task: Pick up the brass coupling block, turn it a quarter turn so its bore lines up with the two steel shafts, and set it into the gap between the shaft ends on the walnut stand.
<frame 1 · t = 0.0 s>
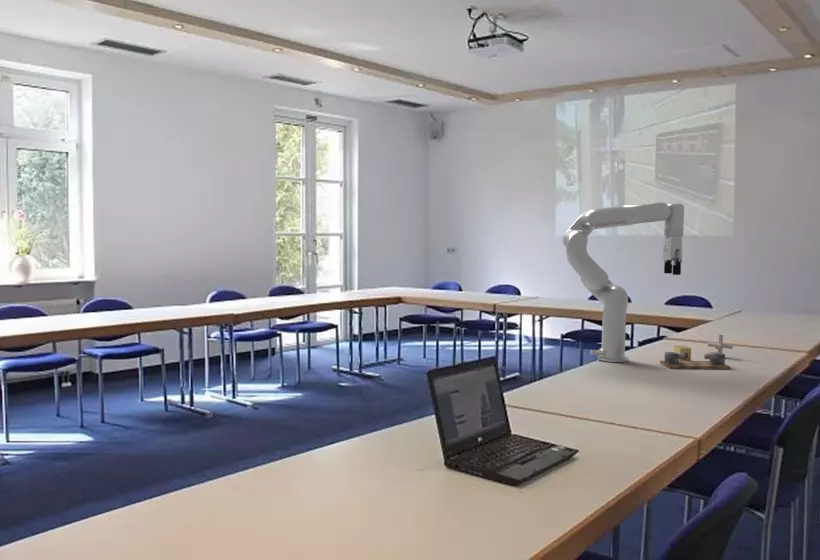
hand: (672, 274, 312), 37 cm above the table, tool pointing down, fingers open, 9 cm apart
coupling: (682, 360, 314), on the table
shaft stand: (694, 366, 301), on the table
pipe connector: (719, 357, 325), on the table
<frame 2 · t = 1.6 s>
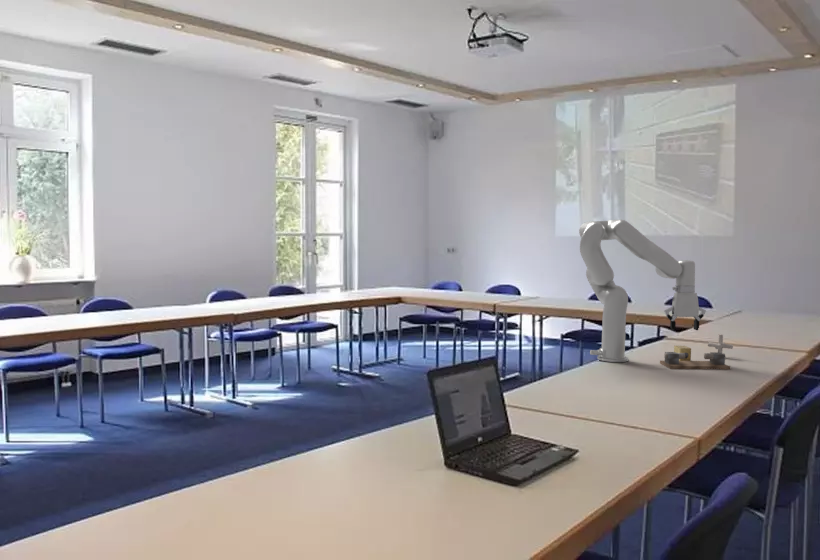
hand: (684, 330, 314), 13 cm above the table, tool pointing down, fingers open, 9 cm apart
nothing on the table moved.
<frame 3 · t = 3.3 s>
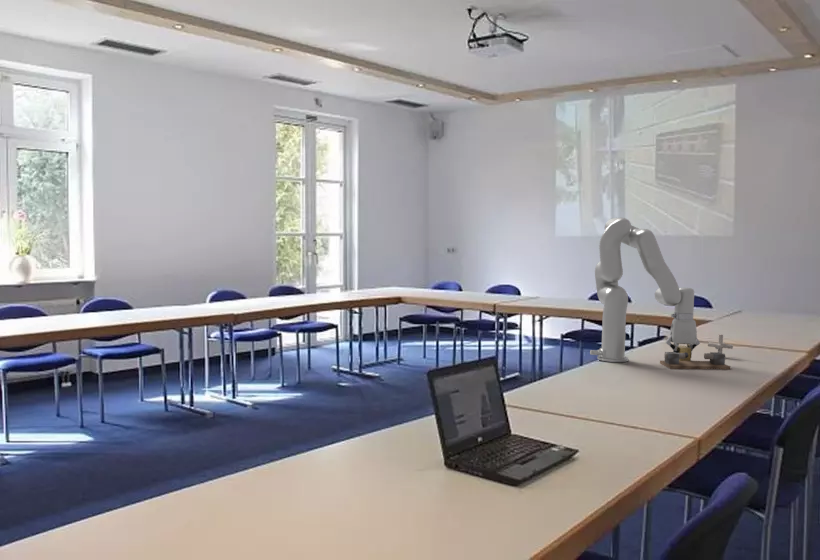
hand: (682, 359, 314), 1 cm above the table, tool pointing down, fingers closed on coupling, 4 cm apart
coupling: (682, 360, 314), on the table, touching gripper
everything else where it was.
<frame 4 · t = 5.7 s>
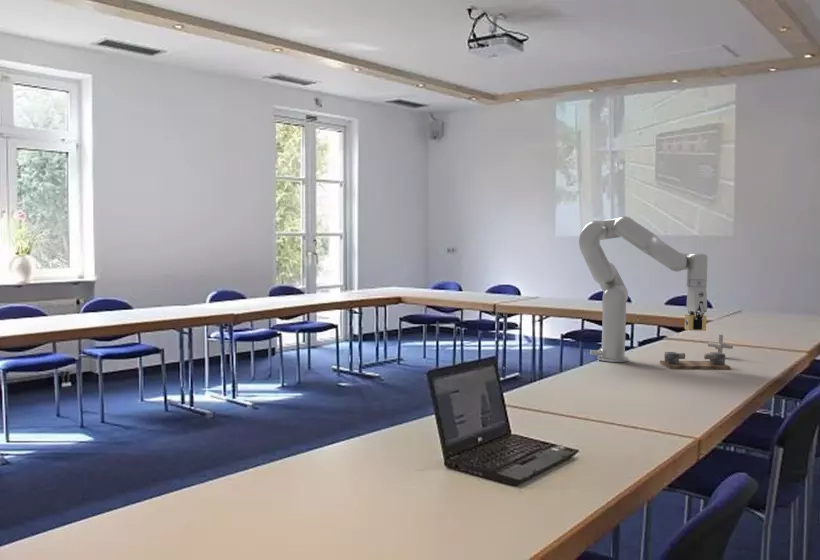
hand: (695, 328, 301), 15 cm above the table, tool pointing down, fingers closed on coupling, 4 cm apart
coupling: (695, 329, 301), point 15 cm above the table, touching gripper
everything else where it was.
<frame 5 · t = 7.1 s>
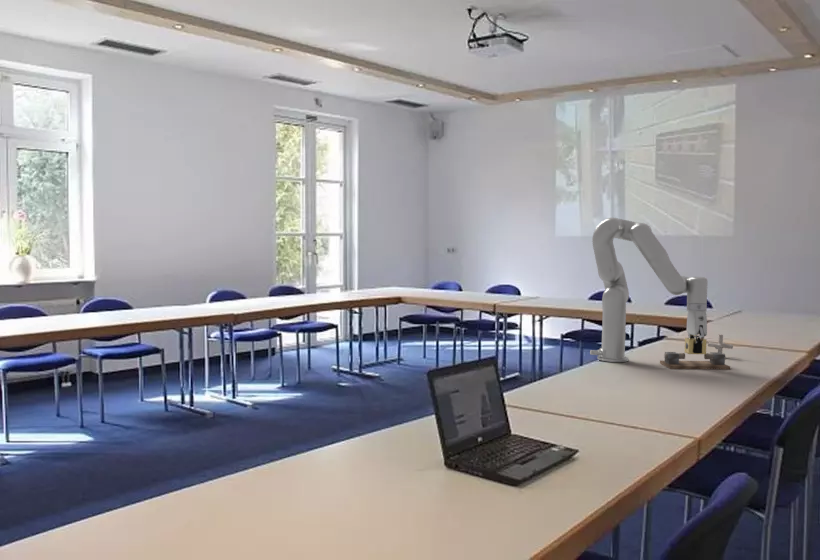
hand: (695, 351, 301), 6 cm above the table, tool pointing down, fingers closed on coupling, 4 cm apart
coupling: (695, 353, 301), point 5 cm above the table, touching gripper
everything else where it was.
when the fingers open (3 cm above the table, at t = 8.0 s): coupling stays where it is, resting on shaft stand.
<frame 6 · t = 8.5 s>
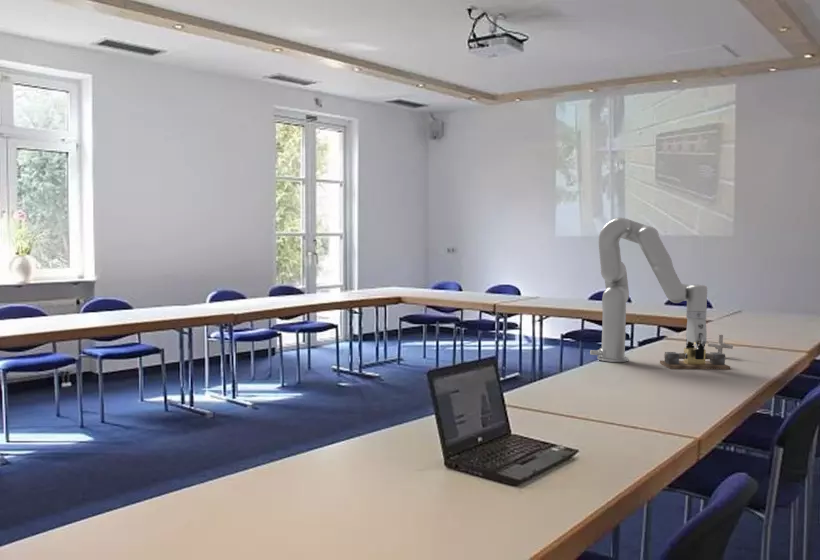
hand: (694, 357, 301), 4 cm above the table, tool pointing down, fingers open, 9 cm apart
coupling: (694, 363, 301), point 1 cm above the table, touching shaft stand
everything else where it was.
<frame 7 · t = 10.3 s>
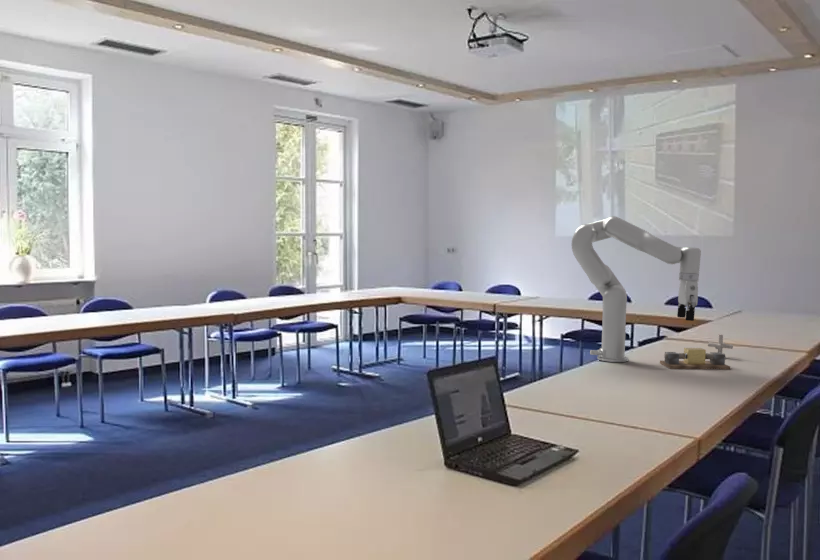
hand: (685, 318, 305), 19 cm above the table, tool pointing down, fingers open, 9 cm apart
nothing on the table moved.
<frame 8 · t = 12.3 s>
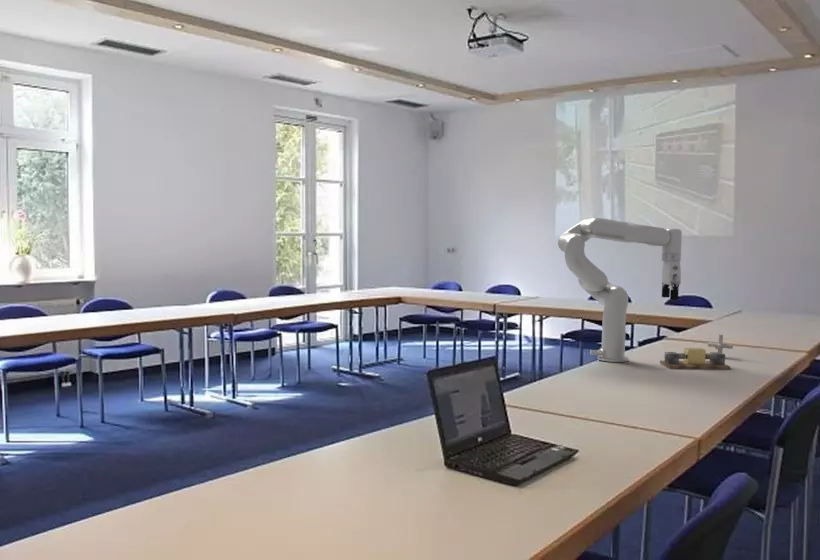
hand: (669, 298, 315), 26 cm above the table, tool pointing down, fingers open, 9 cm apart
nothing on the table moved.
at the end: coupling 0.0 cm off-centre on the shaft stand, point 1.2 cm above the shaft stand's base; coupling tilted 0°; the gripper is holding nothing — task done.
